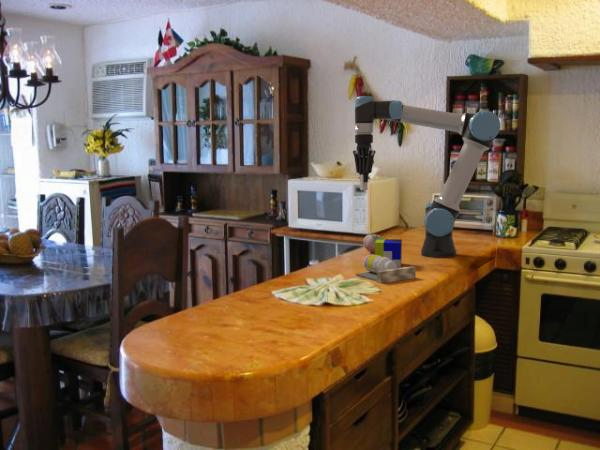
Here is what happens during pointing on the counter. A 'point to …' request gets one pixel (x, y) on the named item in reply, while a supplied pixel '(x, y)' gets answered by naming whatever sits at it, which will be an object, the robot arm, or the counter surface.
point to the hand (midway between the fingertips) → (363, 189)
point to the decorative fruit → (370, 242)
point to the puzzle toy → (390, 250)
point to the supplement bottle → (378, 263)
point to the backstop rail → (395, 274)
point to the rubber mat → (368, 275)
